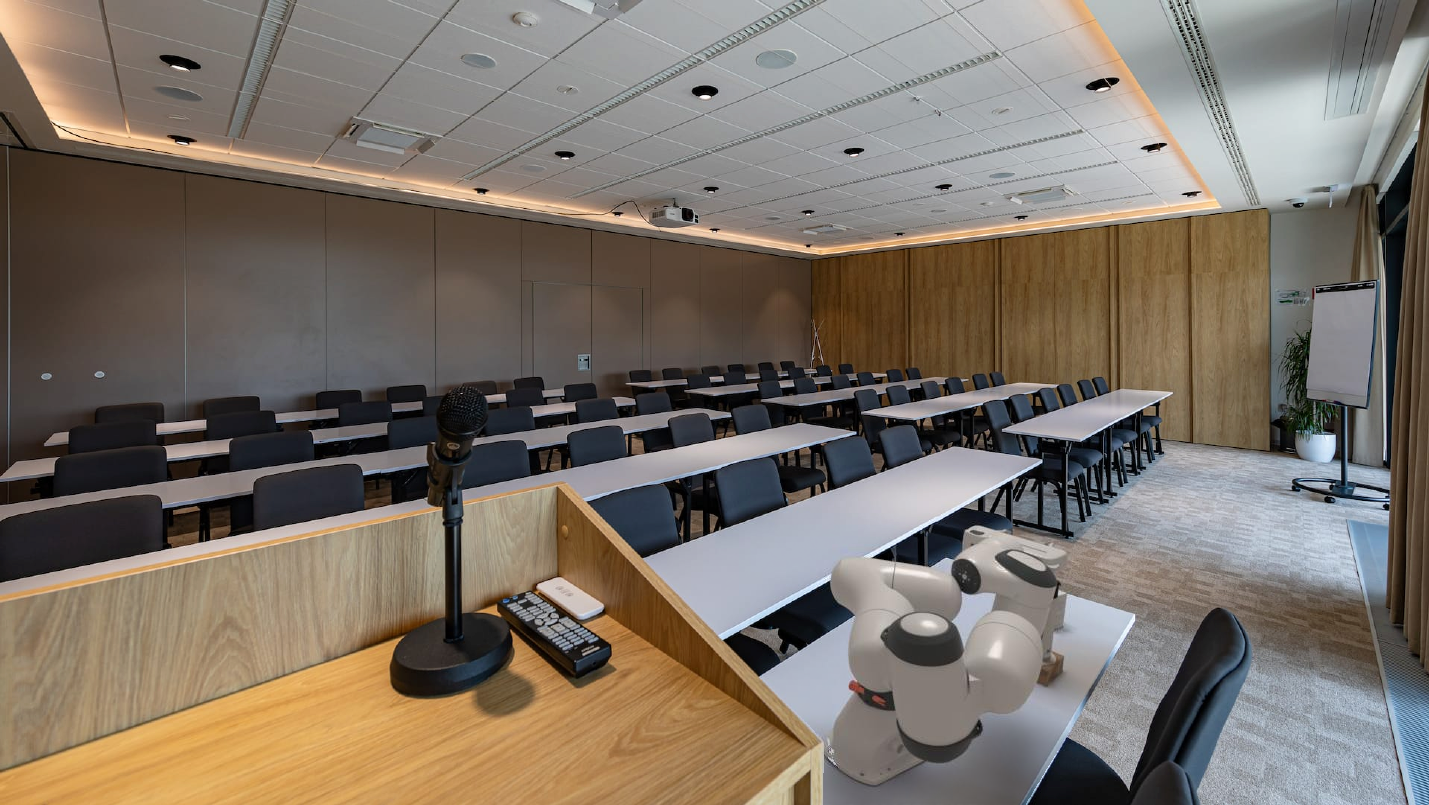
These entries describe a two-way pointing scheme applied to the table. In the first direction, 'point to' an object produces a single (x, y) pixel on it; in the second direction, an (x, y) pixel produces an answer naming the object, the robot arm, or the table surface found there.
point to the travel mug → (1050, 627)
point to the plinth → (1051, 669)
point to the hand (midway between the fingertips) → (1028, 539)
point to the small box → (1060, 609)
